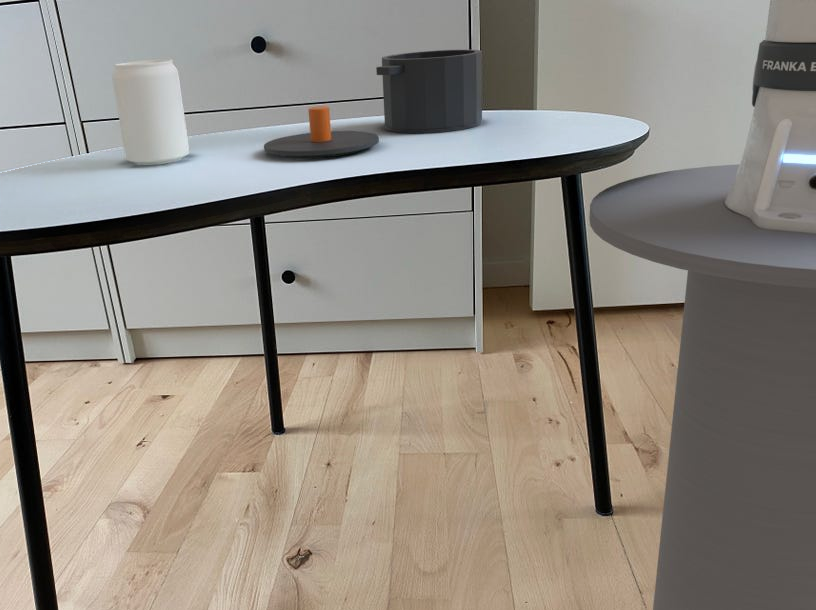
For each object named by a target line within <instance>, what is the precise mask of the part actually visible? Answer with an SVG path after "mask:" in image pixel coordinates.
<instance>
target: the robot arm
mask: <svg viewBox="0 0 816 610" xmlns="http://www.w3.org/2000/svg"><path fill="white" fill-rule="evenodd" d="M768 8H769V9H768V14H767V15H768V16H767V23H766V24H767V25H766V31H765V39H763V40H762V41H760V42H759V45H758V51H757V56H756V57H757V58H756V62H755V65H754V70H753V71H754V72H753V76H752V77H753V78H752V96H751V97H752V98H751V105H752V107H753V112H752V117H751V122H750V125H749V131H748V133H747V138H746V141H745V146H744V149H743V152H742V156H741V159H740V162H739V164H740V165H739V168H738V171H737V174H736V176H735V179H734V182H733V184H732V186H731V189H730V191H729V193H728V195H727V198H726V200H725V205H726V206H727V207H728V208H729V209H730V210H732V211H734V212H736V213H739V214H741V215H743V216H746V217H748V218H750V219H751V221H752V222H753V223H754V225H756V226H757V227H759V228H763V229H769V230H780V231H791V232H802V233H813V234H816V0H769V7H768Z"/></svg>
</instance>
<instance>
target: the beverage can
mask: <svg viewBox="0 0 816 610" xmlns="http://www.w3.org/2000/svg"><path fill="white" fill-rule="evenodd" d="M173 61H174V60H173V59H169V58H166V59H164V58H163V59H147V60H146V59H145V60H134V61H128V62H127V61H126V62H121V63H115V64H114V65H113V67H114V70H113V72H112V75H111V78H112V84H113V85H112V86H113V90H114V96H115V97H114V98H115V102H116V108H117V113H118V120H119V126H120V132H121V138H122V143H123V148H124V155H125V159H126V160H127V161H128V162H130V163H134V164H135V165H138V166H156V165H157V166H158V165H164V164H171V163H176V162H179V161H181V160H182V159H183V158H184V157H186V156H188V155H190V147H189V137H188V132H187V124H186V118H185V110H184V102H183V96H182V87H181V81H180V75H179V70H178V68H177V67H176V65H174V62H173Z"/></svg>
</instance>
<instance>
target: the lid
mask: <svg viewBox="0 0 816 610" xmlns="http://www.w3.org/2000/svg"><path fill="white" fill-rule="evenodd" d="M307 109H308V121H309V122H308V123H309V132H306V133H300V134H299V133H298V134H293V135H292V134H291V135H287V136H282V137H278V138H274V139H271V140H269V141H267V142H265V143H264V145H263V150H264V152H265V153H267V154H270V155H273V156H282V157H285V158H291V159H321V158H332V157H339V156H345V155H346V156H347V155H350V154H354V153H357V152H360V151H362V150H365V149H369V148H371V147H374V146H376V145H378V144H379V142H380V137H379V135H378V134H376V133H374V132H369V131H358V130H331V129H332V128H331V116H330V114H331V113H330V107H329V106H327V105H326V106H323V105H322V106H313V107H309V108H307Z"/></svg>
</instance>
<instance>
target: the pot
mask: <svg viewBox="0 0 816 610" xmlns="http://www.w3.org/2000/svg"><path fill="white" fill-rule="evenodd" d="M375 70H376V76H382V94H383V95H382V96H383V115H384V129H385V130H386V131H388V132H393V133H401V134H433V133H436V134H437V133H445V132H446V133H447V132H455V131H462V130H467V129H471V128H475V127H477V126H480V125H481V124H482V120H483V51H482V50H481V49H439V50H438V49H437V50H427V51H425V50H424V51H413V52H403V53H397V54H389V55H385V56H382V57H381V66H376V67H375Z"/></svg>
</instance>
